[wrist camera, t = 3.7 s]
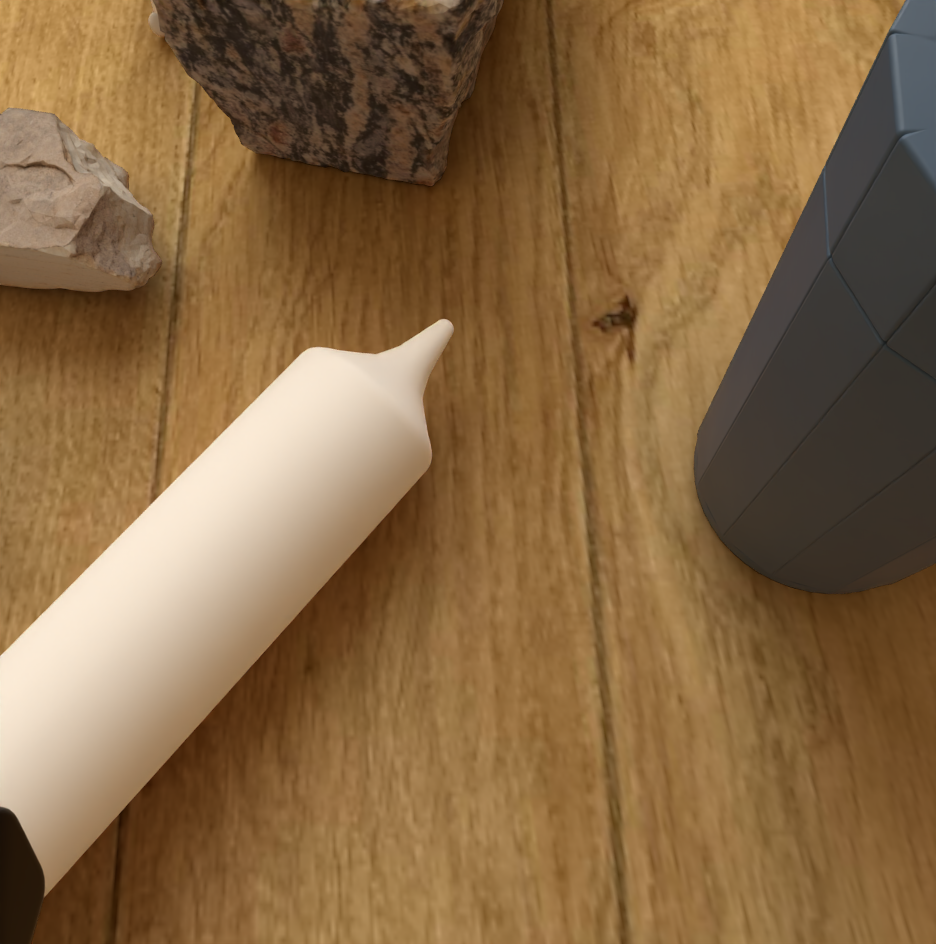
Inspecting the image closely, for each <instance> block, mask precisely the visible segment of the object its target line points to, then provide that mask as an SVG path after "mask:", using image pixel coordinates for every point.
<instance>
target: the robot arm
mask: <svg viewBox="0 0 936 944" xmlns="http://www.w3.org/2000/svg"><path fill="white" fill-rule="evenodd" d="M44 893H45V877H44V873H43V869H42V866H41V864H40V862H39V860H38V858H37V856H36V854H35V852H34V850H33V848H32V846H31V844H30V842H29V840H28V838H27V836H26V834H25V832H24V830H23V828H22V826H21V824H20V822H19V820H18V818H17V817H16V815H15V813H13V812H12V811H11V810H10V809H8V808H5V807H0V944H31V942H32V938H33V935H34V931H35V928H36V924H37V921H38V917H39V914H40V910H41V907H42V903H43V899H44Z"/></svg>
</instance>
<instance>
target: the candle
mask: <svg viewBox="0 0 936 944" xmlns="http://www.w3.org/2000/svg"><path fill="white" fill-rule="evenodd" d="M453 332H454V327H453V324H452V323H451V322H450V321H449V320H446V319H441V320H439V321H437V322H436V323H434V324H433V325H431V326H429V327H428V328H426V329H425V330H423V331H422V332H420V333H419V334H417V335H415V336H414V337H412V338H411V339H409V340H408V341H406V342H405V343H403V344H402V345H400V346H398V347H395V348H392V349H390V350H387V351H384V352H381V353H378V354H368V353H358V352H350V351H342V350H336V349H330V348H324V347H314V348H309V349H307V350H306V351H304V352H303V353H301V354H300V355H299V356H298V357H297V358H296V359H295V360H294V362H293V363H292V364H291V365H290V366H289V367H288V368H287V369H286V370H285V371H284V372H283V373H282V374H281V375H280V376H279V377H278V378H277V379H276V380H275V381H274V382H273V383H272V384H271V385H270V386H269V387H268V388H267V389H266V390H265V391H264V392H263V393H262V394H261V395H260V396H259V397H258V398H257V399H256V400H255V401H254V402H253V403H252V404H251V405H250V406H249V407H248V408H247V409H246V410H245V411H244V412H243V413H242V414H241V415H240V416H239V417H238V418H237V419H236V420H235V421H234V422H233V423H232V424H231V425H230V426H229V427H228V428H227V429H226V430H225V431H224V432H223V433H222V434H221V435H220V436H219V437H218V438H217V439H216V440H215V441H214V442H213V443H212V444H211V445H210V446H209V447H208V448H207V449H206V450H205V451H204V452H203V453H202V454H201V455H200V456H199V457H198V458H197V459H196V460H195V461H194V462H193V463H192V464H191V465H190V466H189V467H188V468H187V469H186V470H185V471H184V472H183V473H182V474H181V475H180V476H179V477H178V478H177V479H176V480H175V481H174V482H173V483H172V484H171V485H170V486H169V487H168V488H167V489H166V490H165V491H164V492H163V493H162V494H161V495H160V496H159V497H158V498H157V499H156V500H155V501H154V502H153V503H152V504H151V505H150V506H149V507H148V508H147V509H146V510H145V511H144V512H143V513H142V514H141V515H140V516H139V517H138V518H137V519H136V520H135V521H134V522H133V523H132V524H131V525H130V526H129V527H128V528H127V529H126V530H125V531H124V532H123V533H122V534H121V535H120V536H119V537H118V538H117V539H116V540H115V541H114V542H113V543H112V544H111V545H110V546H109V547H108V548H107V549H106V550H105V551H104V552H103V553H102V554H101V555H100V556H99V557H98V558H97V559H96V560H95V561H94V562H93V563H92V564H91V565H90V566H89V567H88V568H87V569H86V570H85V571H84V572H83V574H82V575H81V576H80V577H79V578H78V579H77V580H76V581H75V582H74V583H73V584H72V585H71V586H70V587H69V588H68V589H67V590H66V591H65V592H64V593H63V594H62V595H61V596H60V597H59V598H58V599H57V600H56V601H55V602H54V603H53V604H52V605H51V606H50V607H49V608H48V609H47V610H46V611H45V612H44V613H43V614H42V615H41V616H40V617H39V618H38V619H37V620H36V621H35V622H34V623H33V624H32V625H31V626H30V627H29V628H28V629H27V630H26V631H25V632H24V633H23V634H22V635H21V636H20V637H19V638H18V639H17V640H16V641H15V642H14V643H13V644H12V645H11V646H10V647H9V648H8V649H7V650H6V651H5V652H4V653H3V654H2V655H1V656H0V807H5V808H8V809H10V810H11V811H12V812H13V813H15V815H16V817H17V818H18V820H19V822H20V824H21V826H22V828H23V830H24V832H25V834H26V836H27V838H28V840H29V842H30V844H31V846H32V848H33V850H34V852H35V854H36V856H37V858H38V860H39V862H40V864H41V866H42V869H43V873H44V877H45V893H44V897H45V896H46V895H47V894H48V893H49V892H50V891H51V889H52V888H53V887H54V886H55V885H56V884H57V883H58V882H59V881H60V879H61V878H62V877H63V876H64V875H65V874H66V873H67V872H68V871H69V869H70V868H71V867H72V866H73V865H74V864H75V863H76V862H77V860H78V859H79V858H80V857H81V856H82V855H83V854H84V853H85V852H86V850H87V849H88V848H89V847H90V846H91V845H92V844H93V843H94V841H95V840H96V839H97V838H98V837H99V836H100V835H101V834H102V833H103V831H104V830H105V829H106V828H107V827H108V826H109V825H110V824H111V822H112V821H113V820H114V819H115V818H116V817H117V816H118V815H119V814H120V812H121V811H122V810H123V809H124V808H125V807H126V806H127V805H128V804H129V802H130V801H131V800H132V799H133V798H134V797H135V796H136V795H137V793H138V792H139V791H140V790H141V789H142V788H143V787H144V786H145V785H146V783H147V782H148V781H149V780H150V779H151V778H152V777H153V776H154V774H155V773H156V772H157V771H158V770H159V769H160V768H161V767H162V766H163V764H164V763H165V762H166V761H167V760H168V759H169V758H170V757H171V755H172V754H173V753H174V752H175V751H176V750H177V749H178V748H179V747H180V745H181V744H182V743H183V742H184V741H185V740H186V739H187V738H188V736H189V735H190V734H191V733H192V732H193V731H194V730H195V729H196V728H197V726H198V725H199V724H200V723H201V722H202V721H203V720H204V719H205V718H206V716H207V715H208V714H209V713H210V712H211V711H212V710H213V709H214V707H215V706H216V705H217V704H218V703H219V702H220V701H221V700H222V699H223V697H224V696H225V695H226V694H227V693H228V692H229V691H230V690H231V688H232V687H233V686H234V685H235V684H236V683H237V682H238V681H239V680H240V678H241V677H242V676H243V675H244V674H245V673H246V672H247V671H248V669H249V668H250V667H251V666H252V665H253V664H254V663H255V662H256V661H257V659H258V658H259V657H260V656H261V655H262V654H263V653H264V652H265V651H266V649H267V648H268V647H269V646H270V645H271V644H272V643H273V642H274V640H275V639H276V638H277V637H278V636H279V635H280V634H281V633H282V632H283V630H284V629H285V628H286V627H287V626H288V625H289V624H290V623H291V621H292V620H293V619H294V618H295V617H296V616H297V615H298V614H299V613H300V611H301V610H302V609H303V608H304V607H305V606H306V605H307V604H308V602H309V601H310V600H311V599H312V598H313V597H314V596H315V595H316V594H317V592H318V591H319V590H320V589H321V588H322V587H323V586H324V585H325V584H326V582H327V581H328V580H329V579H330V578H331V577H332V576H333V575H334V573H335V572H336V571H337V570H338V569H339V568H340V567H341V566H342V565H343V563H344V562H345V561H346V560H347V559H348V558H349V557H350V556H351V554H352V553H353V552H354V551H355V550H356V549H357V548H358V547H359V546H360V544H361V543H362V542H363V541H364V540H365V539H366V538H367V537H368V535H369V534H370V533H371V532H372V531H373V530H374V529H375V528H376V527H377V525H378V524H379V523H380V522H381V521H382V520H383V519H384V518H385V516H386V515H387V514H388V513H389V512H390V511H391V510H392V509H393V508H394V506H395V505H396V504H397V503H398V502H399V501H400V500H401V499H402V497H403V496H404V495H405V494H406V493H407V492H408V491H409V490H410V489H411V487H412V486H413V485H414V484H415V483H416V482H417V481H418V480H419V479H420V477H421V476H422V475H423V474H424V473H425V472H426V471H427V469H428V468H429V466H430V464H431V461H432V449H431V444H430V440H429V436H428V431H427V425H426V419H425V413H424V406H423V399H422V398H423V394H424V391H425V388H426V384H427V381H428V378H429V375H430V373H431V371H432V369H433V368H434V366H435V364H436V362H437V361H438V359H439V357H440V355H441V354H442V352H443V350H444V348H445V347H446V345H447V343H448V341H449V340H450V338H451V336H452V334H453Z"/></svg>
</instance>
